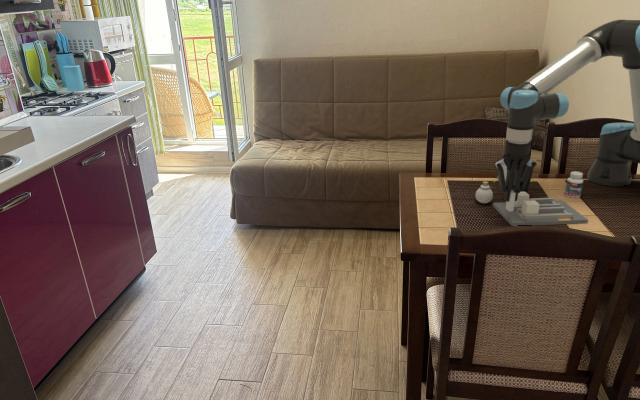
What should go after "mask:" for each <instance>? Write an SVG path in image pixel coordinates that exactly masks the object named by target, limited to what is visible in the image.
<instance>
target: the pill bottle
mask: <svg viewBox="0 0 640 400" xmlns="http://www.w3.org/2000/svg"><path fill="white" fill-rule="evenodd" d="M569 175H570V177H568V178H567V180H566V185H565V190H564V195H565V196H566V197H568V198H573V199H579V198H581V195H582V190H583V185H584V179H583V176H584V173H583V172H581V171H574V170H573V171H571V172H570V174H569Z"/></svg>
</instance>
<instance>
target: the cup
mask: <svg viewBox="0 0 640 400" xmlns="http://www.w3.org/2000/svg"><path fill="white" fill-rule="evenodd" d="M526 165H527V164H526ZM526 165H525V166H524V167H523V172H524V170H525V167H526ZM533 171H534V169H533V170H532V172H531V175H530V177H529V180H528V182H527V185H526V188H525V190H521V191H520V192H526V193H529V192H528V191H529V187H530V184H531V180H532V176H533ZM523 172H522V175H523ZM514 174H515V173H514ZM522 175H521V178H522ZM513 181H514V175H513ZM512 190H513V183H512Z"/></svg>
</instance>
